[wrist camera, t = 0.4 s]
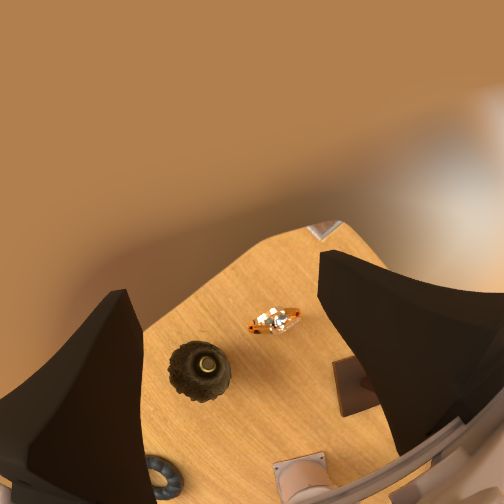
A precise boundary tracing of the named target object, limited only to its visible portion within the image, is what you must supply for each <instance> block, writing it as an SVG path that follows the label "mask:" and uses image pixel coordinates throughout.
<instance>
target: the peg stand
mask: <svg viewBox="0 0 504 504" xmlns="http://www.w3.org/2000/svg"><path fill="white" fill-rule="evenodd" d="M333 369H334V375H335V380H336V386H337V393H338V399H339V406H340V412H341V416H342V417H346V416H349V415H352V414H355V413H358V412H361V411H364V410H366V409H369V408H371V407H374V406H377V405H379V404H380V402H379V400H378V397H377V395H376V393H375V391H374V389H373V387H372V385H371V383H370V381H369V379H368V377H367V375H366V373H365V371H364V369H363V367H362V365H361V364H360V362H359V361H358V359H357V357H356V356H352V357H349V358H346V359H342V360H339V361H335V362H333Z"/></svg>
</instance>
